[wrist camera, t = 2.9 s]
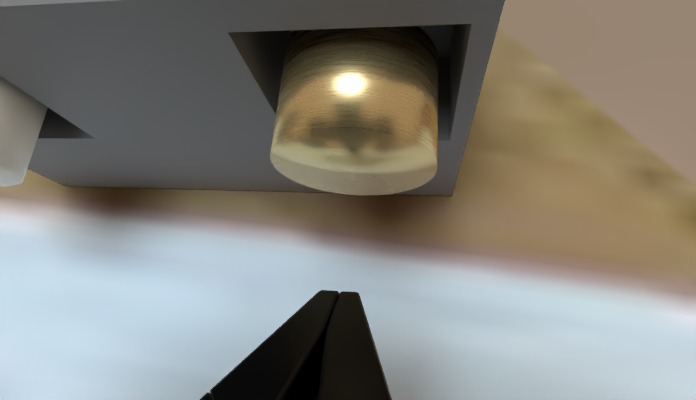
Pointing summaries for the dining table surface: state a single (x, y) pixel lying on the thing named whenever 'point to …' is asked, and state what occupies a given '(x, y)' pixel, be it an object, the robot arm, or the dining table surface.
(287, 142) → the brass button
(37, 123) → the cream button
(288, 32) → the console
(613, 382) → the dining table surface
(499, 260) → the dining table surface
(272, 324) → the dining table surface
